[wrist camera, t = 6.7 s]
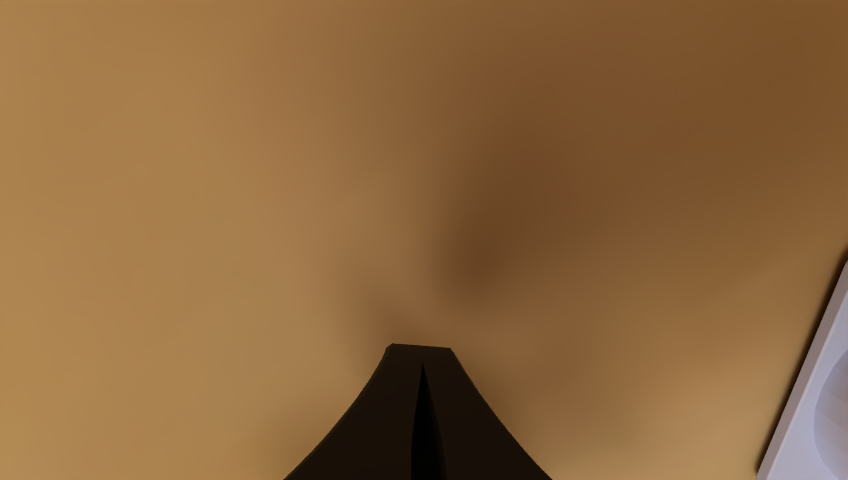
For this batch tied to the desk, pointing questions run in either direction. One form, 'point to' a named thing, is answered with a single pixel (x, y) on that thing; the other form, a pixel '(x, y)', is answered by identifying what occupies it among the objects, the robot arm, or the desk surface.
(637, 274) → the desk surface
